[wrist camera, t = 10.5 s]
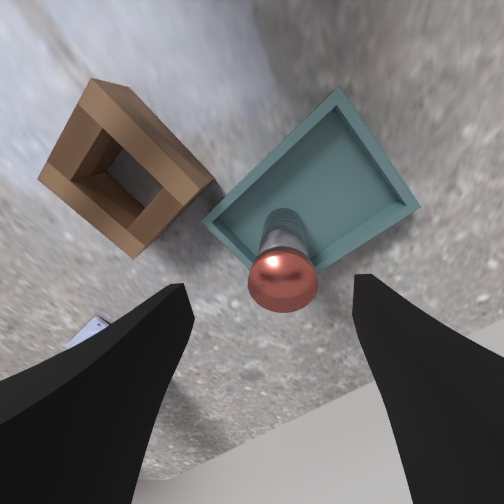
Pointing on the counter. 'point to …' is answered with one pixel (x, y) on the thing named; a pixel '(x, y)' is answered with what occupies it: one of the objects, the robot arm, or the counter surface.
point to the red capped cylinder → (282, 265)
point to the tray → (317, 188)
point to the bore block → (103, 154)
